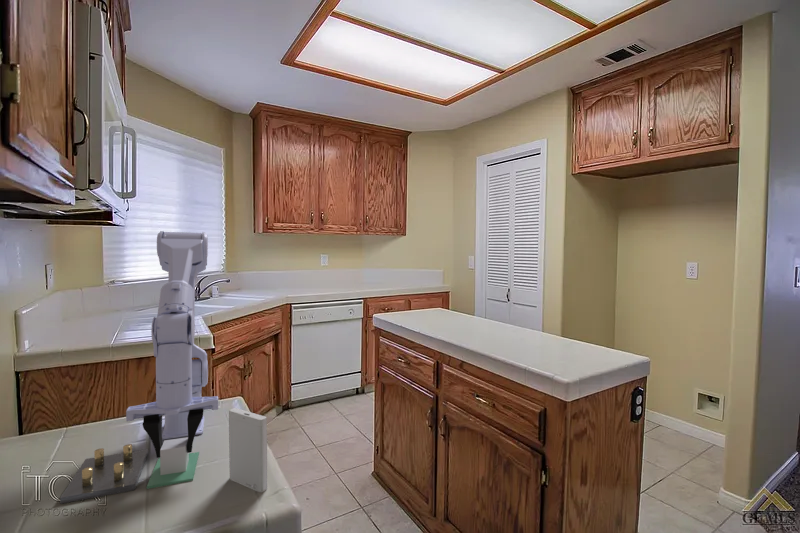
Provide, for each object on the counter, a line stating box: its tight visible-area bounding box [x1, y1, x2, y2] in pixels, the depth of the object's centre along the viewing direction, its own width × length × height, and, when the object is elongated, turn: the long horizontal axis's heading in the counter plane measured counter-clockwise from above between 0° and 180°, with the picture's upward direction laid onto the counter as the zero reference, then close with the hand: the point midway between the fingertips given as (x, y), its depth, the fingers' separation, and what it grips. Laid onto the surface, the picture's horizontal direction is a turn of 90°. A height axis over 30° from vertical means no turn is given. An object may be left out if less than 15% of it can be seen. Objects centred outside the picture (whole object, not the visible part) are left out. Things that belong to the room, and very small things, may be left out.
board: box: [146, 436, 200, 490], centre depth 74 cm, size 10×7×5 cm
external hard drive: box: [228, 407, 268, 493], centre depth 70 cm, size 2×8×12 cm, turn 60°
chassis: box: [59, 443, 149, 505], centre depth 72 cm, size 13×10×4 cm
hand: (174, 452), depth 74 cm, fingers open, 4 cm apart
